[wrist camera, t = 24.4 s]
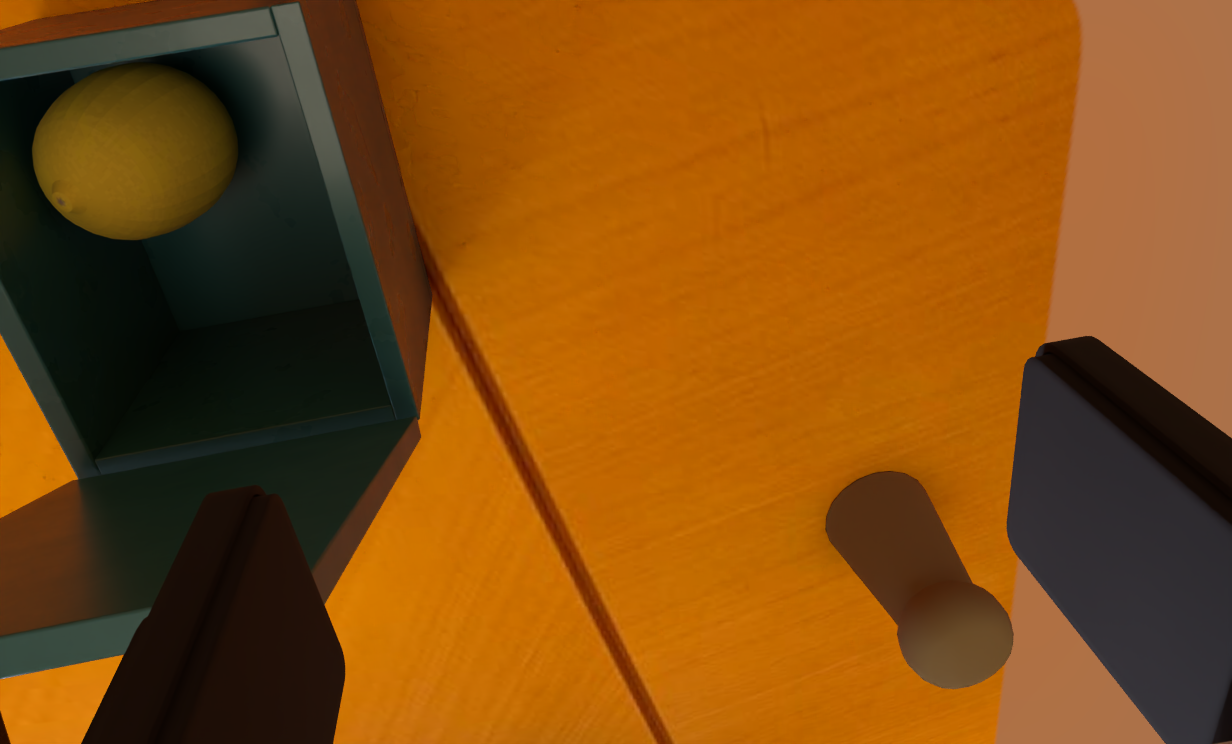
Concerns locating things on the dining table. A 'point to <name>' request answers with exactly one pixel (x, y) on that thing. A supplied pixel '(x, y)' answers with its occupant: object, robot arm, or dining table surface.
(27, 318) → the teal box
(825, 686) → the dining table surface
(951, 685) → the cork
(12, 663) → the box lid
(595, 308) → the dining table surface
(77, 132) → the lemon
